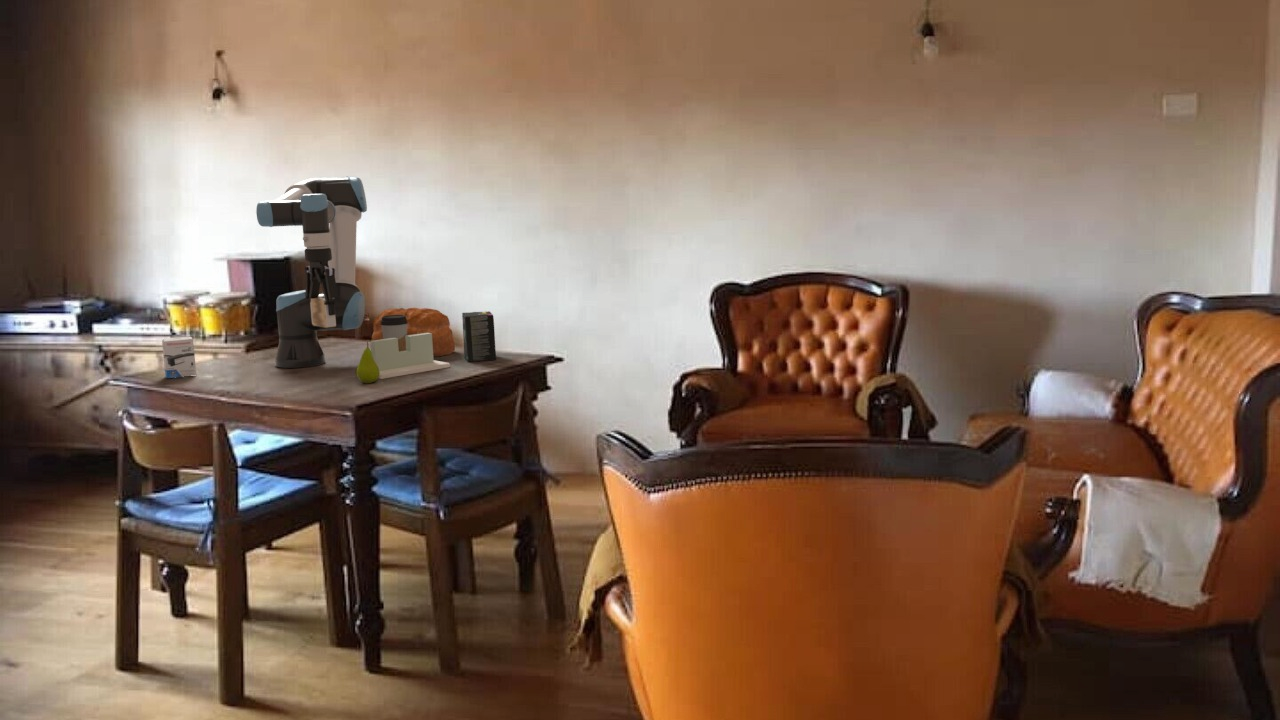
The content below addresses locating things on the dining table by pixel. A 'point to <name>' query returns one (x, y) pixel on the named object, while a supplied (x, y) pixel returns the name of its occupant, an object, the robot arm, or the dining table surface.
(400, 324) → the coffee cup
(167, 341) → the ink box
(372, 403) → the dining table surface
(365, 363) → the fruit
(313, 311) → the wooden block
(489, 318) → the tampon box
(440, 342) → the bread
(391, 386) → the dining table surface
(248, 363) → the dining table surface
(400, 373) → the slotted board
